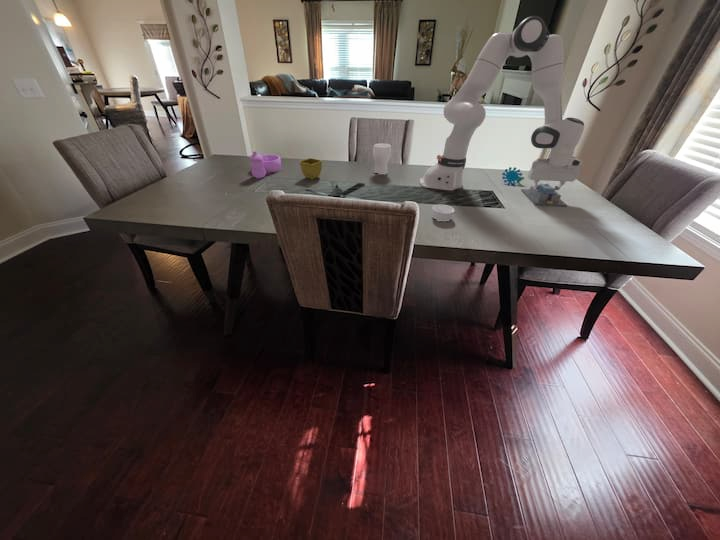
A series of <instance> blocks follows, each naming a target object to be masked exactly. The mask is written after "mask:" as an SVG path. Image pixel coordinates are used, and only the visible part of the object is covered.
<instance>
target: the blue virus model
mask: <svg viewBox="0 0 720 540" xmlns="http://www.w3.org/2000/svg"><path fill="white" fill-rule="evenodd" d="M522 176H523V173H522V172H521V170H520V168H519V169H518V170H517V167H510V166H509V167H508V169H507V168H506V169H504V171H503V172H502V178H501V180H503V182H504V184H505V183H507V182H508V183H507V185H509V186H510V185H511V183H512V185H513V186H514V185H516V184H519V183H520V182H521V181H523V180H525V176H523V177H522Z"/></svg>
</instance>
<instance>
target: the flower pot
mask: <svg viewBox="0 0 720 540" xmlns="http://www.w3.org/2000/svg"><path fill="white" fill-rule="evenodd" d="M299 165H300V168H301V169H300V170H301V173H302V174H303V176H304V178H306V179H309V178H310V180H315V179H317V178H319V177H320V175H321V172H322V168H323V167H322V166H323V160H320V159H316V158H311V157H310V158H306V159H304V160H300V161H299ZM316 177H317V178H316ZM314 178H315V179H314Z"/></svg>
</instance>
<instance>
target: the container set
mask: <svg viewBox="0 0 720 540" xmlns="http://www.w3.org/2000/svg"><path fill="white" fill-rule="evenodd" d="M248 158H249V160H250V161H249V164H250V167H252V168H251V174H252V176H253V177H254V178H255V177H256V178H255V179H263V178H265V176H266V174H271V173H270V172H274V173H277V172H276V171H278V172H280V171H282V170H283V167H282V160H281V156H279V155H278V154H277V155H276V154H259V153H258V151H252V154H251V155H249V157H248ZM279 170H280V171H279ZM262 177H263V178H262Z"/></svg>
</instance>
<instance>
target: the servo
mask: <svg viewBox="0 0 720 540" xmlns="http://www.w3.org/2000/svg"><path fill="white" fill-rule="evenodd" d="M538 185H539V189H538V191H539V192H540V193H542V194H548V195H549V196H548V198H547V199H548V200H550V198H551V196H552V195H553V194H555V192H554V191H556V190H555V189H554V188H555V187H553V185H551V184H549V182H544V183H539V184H538Z"/></svg>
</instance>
